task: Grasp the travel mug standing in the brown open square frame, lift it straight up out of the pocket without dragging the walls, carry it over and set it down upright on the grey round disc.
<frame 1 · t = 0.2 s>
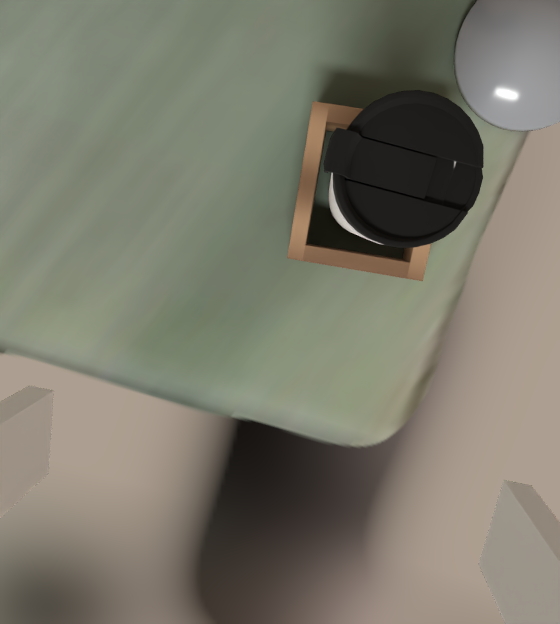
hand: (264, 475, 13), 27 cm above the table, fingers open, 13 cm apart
brown open square frame: (365, 195, 38), on the table
travel mug: (364, 196, 38), resting in brown open square frame
grey round disc: (529, 53, 35), on the table
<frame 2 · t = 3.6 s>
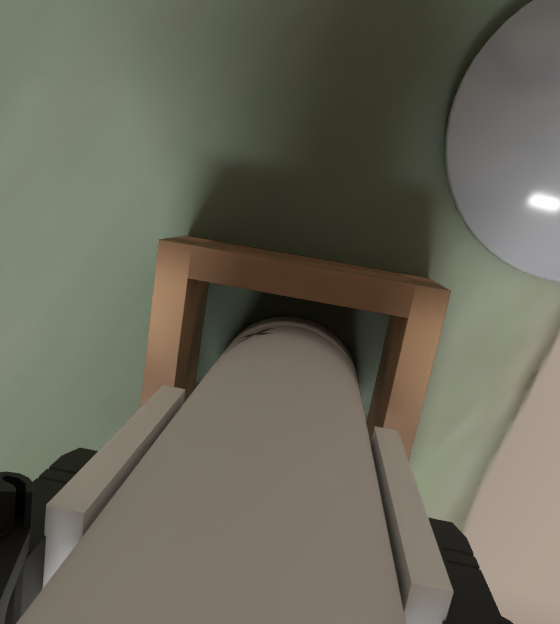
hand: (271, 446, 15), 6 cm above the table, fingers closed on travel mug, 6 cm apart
brown open square frame: (283, 381, 21), on the table
travel mug: (283, 380, 21), resting in brown open square frame, touching gripper
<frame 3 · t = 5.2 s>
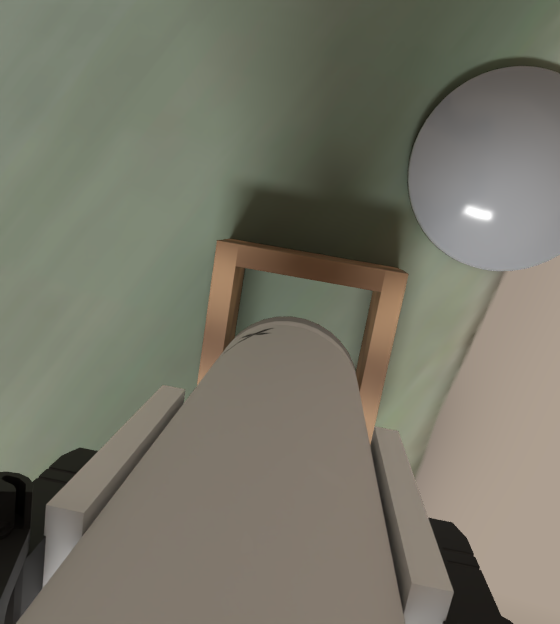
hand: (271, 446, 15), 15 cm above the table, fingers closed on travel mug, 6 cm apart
brown open square frame: (297, 342, 30), on the table
travel mug: (283, 380, 21), point 8 cm above the table, touching gripper
grey round disc: (505, 173, 27), on the table
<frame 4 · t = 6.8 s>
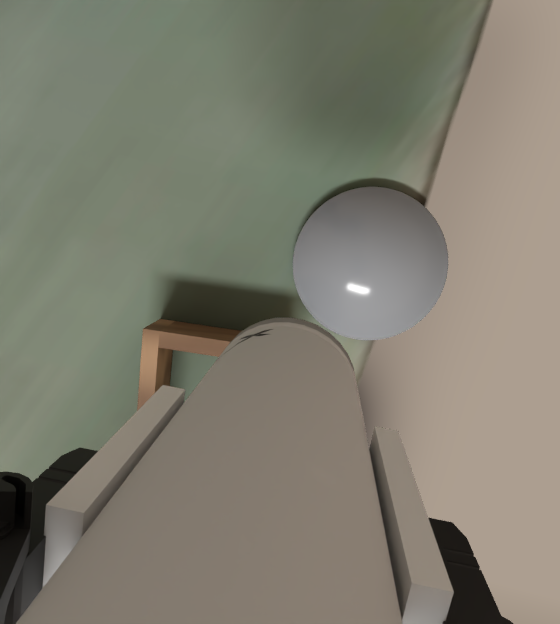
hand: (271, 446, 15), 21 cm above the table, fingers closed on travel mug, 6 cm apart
brown open square frame: (218, 397, 37), on the table
travel mug: (282, 381, 21), point 14 cm above the table, touching gripper
grey round disc: (368, 265, 34), on the table
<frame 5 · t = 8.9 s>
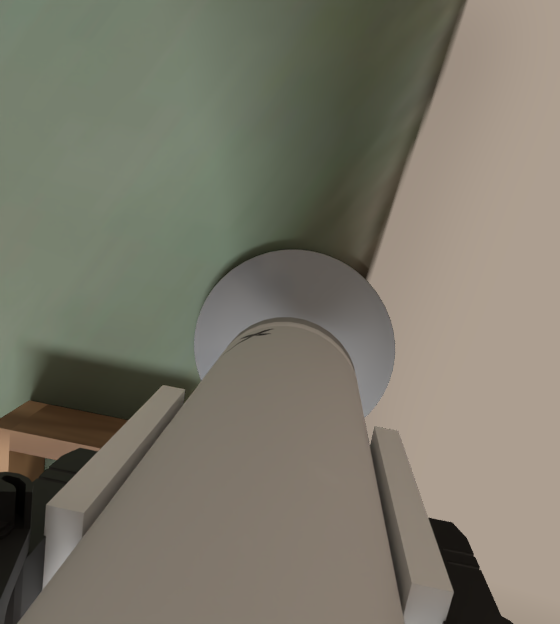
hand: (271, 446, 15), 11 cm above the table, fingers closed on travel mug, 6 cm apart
brown open square frame: (103, 500, 29), on the table
travel mug: (283, 380, 21), point 5 cm above the table, touching gripper
grey round disc: (293, 348, 26), on the table
when the fingers open (8 cm above the table, at t = 10.4 s): travel mug drops 1 cm, resting on grey round disc.
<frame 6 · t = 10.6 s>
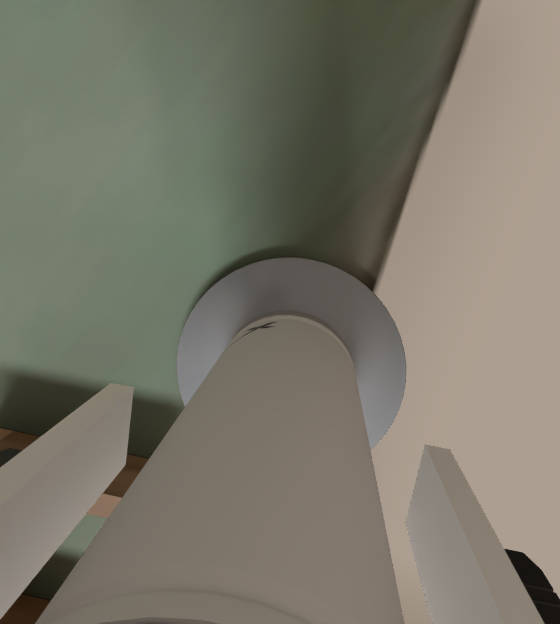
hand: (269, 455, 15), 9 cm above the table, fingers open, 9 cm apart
brown open square frame: (77, 538, 26), on the table
travel mug: (285, 370, 22), resting on grey round disc
grey round disc: (289, 369, 23), on the table
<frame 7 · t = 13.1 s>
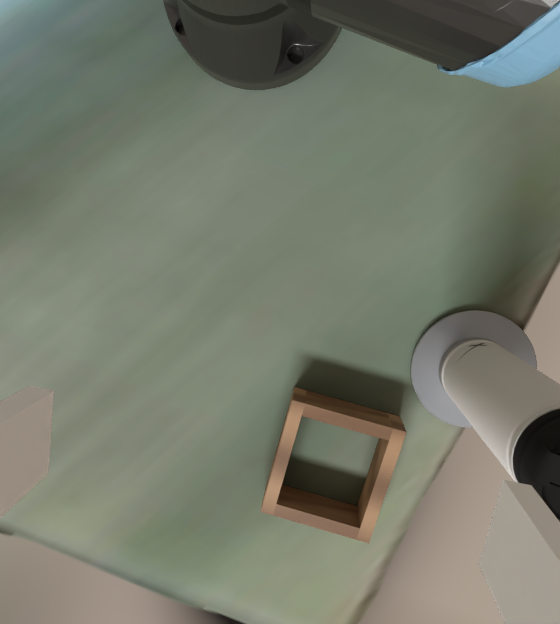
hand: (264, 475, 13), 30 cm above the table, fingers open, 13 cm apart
brown open square frame: (330, 454, 46), on the table
travel mug: (470, 368, 43), resting on grey round disc
grey round disc: (471, 368, 43), on the table
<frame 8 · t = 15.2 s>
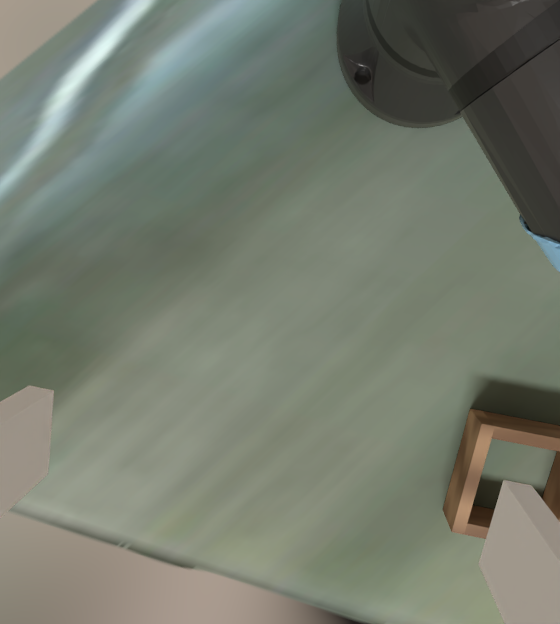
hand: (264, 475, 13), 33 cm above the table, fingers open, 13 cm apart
brown open square frame: (507, 470, 47), on the table
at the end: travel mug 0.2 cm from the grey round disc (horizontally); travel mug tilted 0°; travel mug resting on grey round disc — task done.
